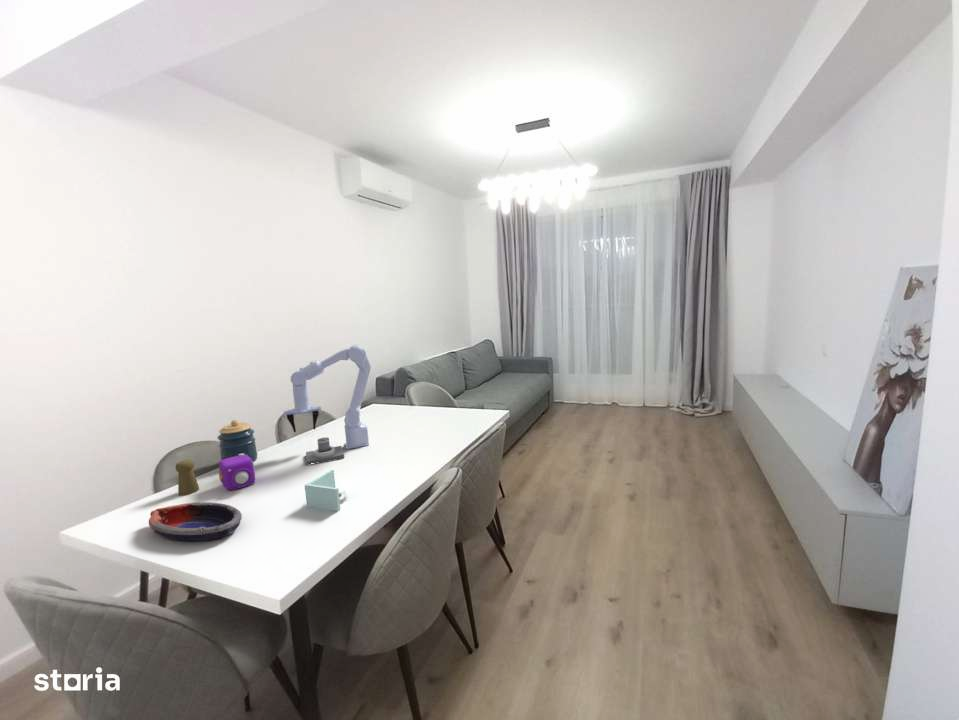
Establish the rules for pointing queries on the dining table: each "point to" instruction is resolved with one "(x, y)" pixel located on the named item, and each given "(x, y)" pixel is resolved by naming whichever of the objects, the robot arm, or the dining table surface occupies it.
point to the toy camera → (236, 472)
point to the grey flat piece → (324, 455)
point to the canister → (237, 441)
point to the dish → (195, 521)
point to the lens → (323, 444)
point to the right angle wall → (324, 493)
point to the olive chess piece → (186, 478)
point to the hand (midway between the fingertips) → (304, 430)
